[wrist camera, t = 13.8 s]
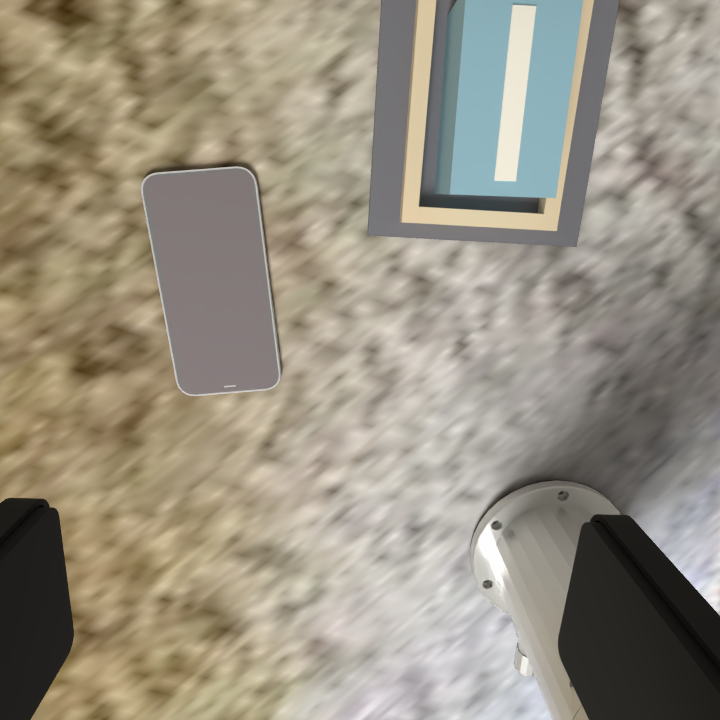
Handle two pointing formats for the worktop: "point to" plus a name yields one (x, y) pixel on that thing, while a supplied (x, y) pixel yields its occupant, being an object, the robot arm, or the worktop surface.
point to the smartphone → (213, 279)
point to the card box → (506, 96)
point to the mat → (421, 131)
